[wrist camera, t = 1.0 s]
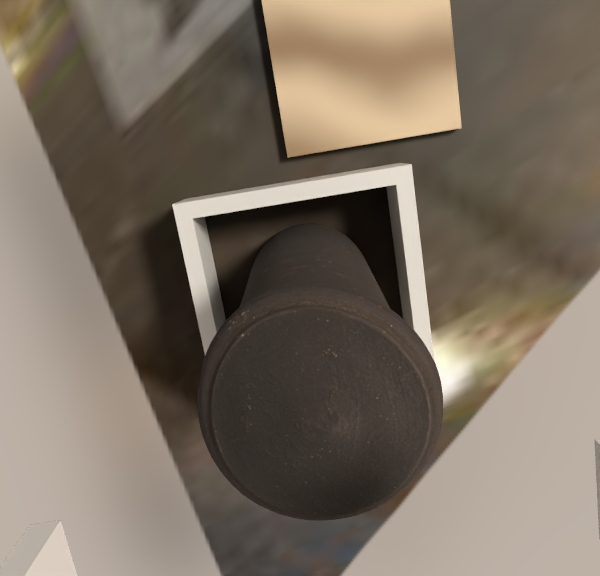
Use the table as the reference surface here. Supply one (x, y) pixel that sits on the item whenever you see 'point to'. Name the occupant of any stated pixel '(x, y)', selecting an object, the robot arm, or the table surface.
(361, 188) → the frame
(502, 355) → the table surface
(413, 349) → the container
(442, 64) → the cork mat
